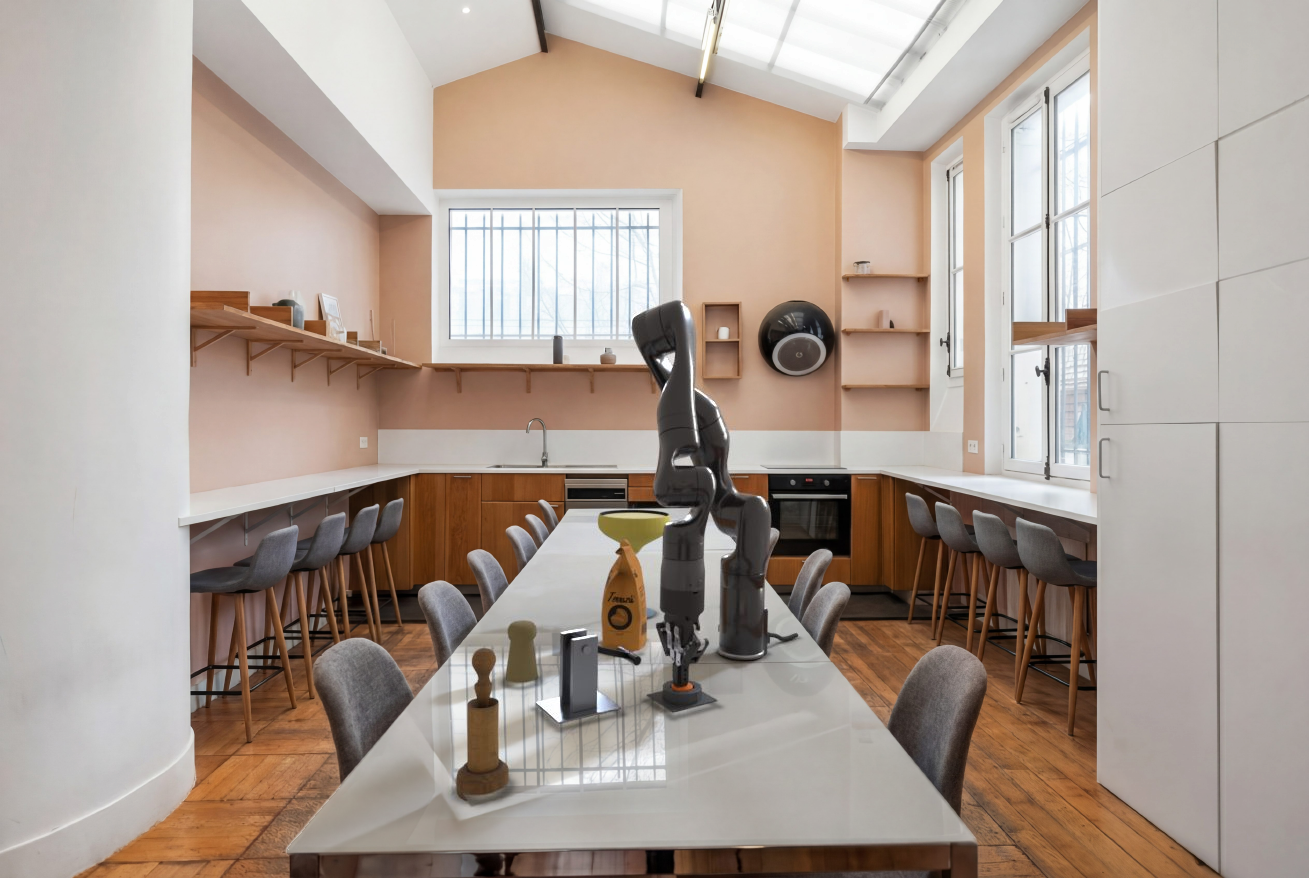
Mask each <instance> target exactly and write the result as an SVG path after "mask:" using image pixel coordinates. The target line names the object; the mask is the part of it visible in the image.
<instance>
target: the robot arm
mask: <svg viewBox="0 0 1309 878" xmlns="http://www.w3.org/2000/svg"><path fill="white" fill-rule="evenodd" d="M630 327H631V333H632V336H633V340H634V342H635V345H636V347H637V349H638V351H639V353H640V355H641V357H642V359H643V360H644V362H645V364H646V366H647V368H648V370H649V371H650V374H651V376H652V377H653V379H654V381H655V383H656V385H657V386H658V388H659V390H660V392H661V394H660V397H659V400H658V404H657V409H656V424H657V426H656V427H657V434H658V459H657V465H656V470H655V475H654V478H653V485H652V493H653V497H654V499H655V500H656V501H657V503H658V504H659V505H660V506H662V507H664V508H690V510H689V512H688V513H687V514H686V516H685V517H682V518H680V519H676V520H670V522H668V523H667V524H665V526H664V528H663V536H662V548H661V549H662V550H661V551H662V556H661V564H660V576H659V577H660V579H659V580H660V581H659V583H660V584H659V610H660V612H662V614H664V615H663V620H662V621H661V622H656V623H655V628H656V629H655V630H656V631H657V635H658V638H659V641H660V643H661V646H662V649H663V650H662V651H663V652H664V655H665V656H666V657H669V661H670V663H671V664H672V665H671V666H672V667H671V668H672V675H671V678H672V680H673V685H675V686H677V687H683V686H687V685H688V681H689V680H690V679H689V678H690V677H689V676H690V665H695V664H698V662H699V661H700V659H701V658H702V656H703V655H704V653H705V651H706V650H707V648H708V647H709V645H710V641H709V639H708V638H706V637H705V638H703V636H702V634H701V623H700V616H701V615H702V614H703V613H704V611H705V598H706V597H705V596H706V595H705V592H706V581H705V580H706V566H705V536H706V535H705V533H706V528H707V524H708V520H709V516H710V515H711V518H712V520H713V523H714V525H715V527H716V528H717V529H718V531H719V532H720V533H722V534H723V535H726V536H728V537H733V538H736V543H735V549H734V550H733V551H732V552H730V553H726V554H724V555H722V556H721V557H720V562H719V563H720V564H719V565H720V566H719V569H720V570H719V571H720V572H719V616H718V617H719V624H718V625H717V626H718V627H717V629H718V630H717V631H718V648H717V649H718V651H717V652H718V654H719V655H720V656H722V657H724V658H726V659H731V660H736V661H752V660H758V659H761V658H762V657H764V655H766V654H768V644H771V638H773V639H777V640H778V641H781V642H787V641H791V640H793V639H795V638H798V637H799V634H798V633H797V632H794V633H791V634H789V635H786V636H782V635H781V634H779V633H775V632H770V631H769V608H768V607H767V606H765V599H766V598H765V595H766V594H765V593H766V592H765V591H766V585H765V584H766V565H767V562H768V559H769V555H770V543H771V530H772V513H771V512H772V511H771V508H770V505H769V502H768V500H767V499H765V498H764V497H763V496H761V495H758V494H752V493H751V494H750V493H744V492H739V491H738V489H737V488H736V486H735V484H734V482H733V480H732V478H731V475H730V473H729V469H728V468H729V467H728V459H729V454H730V445H731V436H730V432H729V429H728V426H727V423H726V421H725V419H724V416H723V414H722V412H721V409H720V408H719V405H718V404H717V403H716V402H715V400H714V399H712V398H711V397H710V396H709V395H708V394H706V393H705V392H704V391H703V390H701V389H699V388H698V387H697V386H696V374H697V373H696V372H697V370H696V369H697V330H696V324H695V320H694V317H693V315H692V312H691V310H690V309H689V307H688V306H687V304H686V303H684V301H682V300H679V299H674V300H670V301H666V302H665V303H662V304H659V305H657V306H654V307H651V308H649V309H646V310H643V311H641V312H638V313H636V314H634V315H633V317H632V318H631V323H630ZM672 354H674V360H673V363H672V362H671V361H670V359H669V358H668V356H670V355H672ZM688 457H689V458H690V460H691V462H692V465H685V464H683V465H679V464H678V465H677V464H675V461H676V460H680V459H681V460H682V459H684V458H688Z"/></svg>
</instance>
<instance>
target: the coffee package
mask: <svg viewBox="0 0 1309 878" xmlns="http://www.w3.org/2000/svg"><path fill="white" fill-rule="evenodd" d="M614 553H615V554H616V555H617V556H618V558H616V560H615V561H614V563H613V564H612V566H611V568H610V570H609V572H608V574H607V578H606V582H605V584H604V589H603V594H602V595H603V596H602V602H601V615H600V618H601V632H602V633H601V636H602V639H601V640H602V641H601V643H602V644H601V646H602V647H607V648H611V649H617V648H618V647H620V646H621V647H623V648H625V649H627V650H629V651H630V652H637V651H641V650H642V649H643V648H644V647H645V646H646V644H647V641H648V640H647V639H648V618H647V611H646V608H647V597H646V588H645V583H644V575H643V569H642V568H643V567H642V565H641V562H640V560H639V558H638V556H637V554H636V555H635V553H634V551H633V550H632V548H631V545H630V543H629V542H628V541H627V540H626V539H625V540H623V541H621V543H619V548H617V549H616V550H615V552H614Z"/></svg>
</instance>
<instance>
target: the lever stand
mask: <svg viewBox="0 0 1309 878" xmlns="http://www.w3.org/2000/svg"><path fill="white" fill-rule="evenodd" d="M559 633H560V635H559V636H560V637H559V638H560V639H559V697H558V696H557V697H554V698H549V699H544V700H540V701H539V700H538V701H536V702H535V704H536V705H537V706H538V707H539V708H540V709H542V710H543V711H544V712H545V713H546V714H547V715H548V716H549V717H551V718H552V719H553V720H554V721H555V722H556V723H557V724H564V723H568V722H573V721H576V720H580V719H586V718H589V717H593V716H597V715H601V714H606V713H610V712H614V711H618V710H621V709H622V707H621V706H620V705H618V704H617V703H616V702H614V701H612V700H611V699H610V698H608V696H605V695H604V694H603V693H601V692H600V691H598V673H599V671H598V669H599V667H598V665H599V664H598V662H599V653H598V646H599V636H598V635H597V634H591V635H588V630H587V629H586V628H579V629H572V630H565V631H560V632H559ZM571 635H575V636H580V637H579V638H574V639H571V652H570V651H569V650H567V646H568V643H569V640H570V637H571Z"/></svg>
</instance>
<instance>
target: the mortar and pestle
mask: <svg viewBox="0 0 1309 878" xmlns="http://www.w3.org/2000/svg"><path fill="white" fill-rule="evenodd" d="M496 662H497V656H496V654H495V652H494V651H493V650H492V649H491V648H486V647H481V648H479V649H477V650H476V651H475V652H473V654H472V657H471V665H472V668H473V670H474V671H475V674H476V675H477V681H476V682H475V683H474V684H473V687H474V688H473V689H474V692H475V697H476V698H473V699H470V700H469V701H468V702H467V704H466V719H467V720H466V725H467V727H466V728H467V730H466V732H467V733H466V735H467V739H466V741H467V742H466V743H467V744H466V745H467V749H466V751H467V754H466V755H467V756H466V757H467V759H466V762H465V763H464V764H463V765H462V766H461V767H460V768H459V769H458V770H457V772H456V786H455V787H456V789H455V790H456V794H457V796H458V798H460V799H461V800H464V801H467V802H468V799H467V798H466V797H465V795H471V796H480V795H481V796H482V795H488V794H492V793H495V792H497V791H499V790H502V789H503V788H504V787H505V786H506V785H507V784H508V783H509V778H510V777H509V766H508V764H507V763H506V762H504V761H503V760H501V759H500V757H499V755H500V751H499V747H500V746H499V744H500V743H499V740H500V739H499V726H500V725H499V717H500V715H499V714H500V713H499V712H500V705H499V704H500V702H499V700H498V699H497V698H495V697H491V694H492V690H493V686H494V685H493V682H492V681H491V679H490V676H491V673H492V671H493V669H494V667H495V665H496ZM464 794H465V795H464Z"/></svg>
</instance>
